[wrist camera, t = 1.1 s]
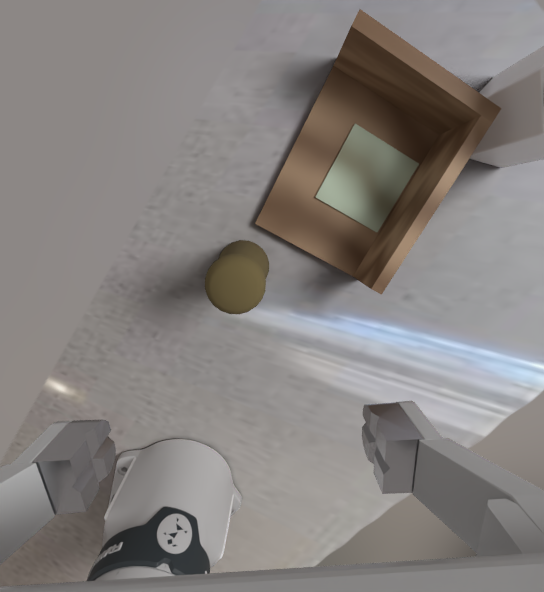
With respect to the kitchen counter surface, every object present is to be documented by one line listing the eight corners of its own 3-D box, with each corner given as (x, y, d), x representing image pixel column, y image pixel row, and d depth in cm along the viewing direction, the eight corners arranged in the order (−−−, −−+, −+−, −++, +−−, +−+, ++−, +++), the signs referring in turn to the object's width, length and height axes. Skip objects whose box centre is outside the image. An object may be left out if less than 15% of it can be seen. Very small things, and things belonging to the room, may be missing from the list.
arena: (359, 279, 34) (381, 294, 28) (255, 223, 32) (252, 225, 26) (450, 132, 30) (501, 108, 24) (337, 57, 28) (359, 9, 22)
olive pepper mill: (206, 264, 33) (179, 286, 23) (244, 229, 32) (234, 235, 22) (242, 301, 35) (232, 338, 24) (279, 268, 34) (286, 291, 23)
